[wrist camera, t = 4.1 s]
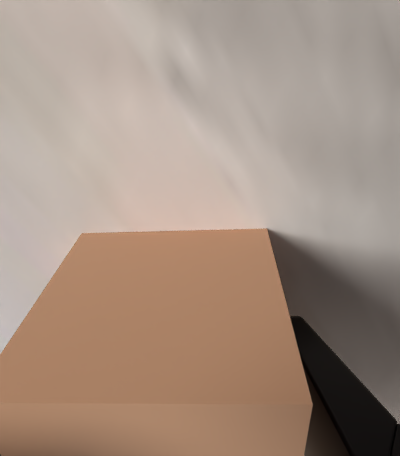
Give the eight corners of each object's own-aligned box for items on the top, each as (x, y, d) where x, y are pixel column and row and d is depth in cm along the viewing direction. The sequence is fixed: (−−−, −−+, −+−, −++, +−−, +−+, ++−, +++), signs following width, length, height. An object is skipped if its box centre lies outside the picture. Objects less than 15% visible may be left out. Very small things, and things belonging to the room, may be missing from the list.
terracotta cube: (266, 226, 9) (313, 404, 5) (260, 356, 12) (287, 550, 7) (82, 232, 9) (-33, 402, 5) (115, 356, 12) (56, 544, 8)
